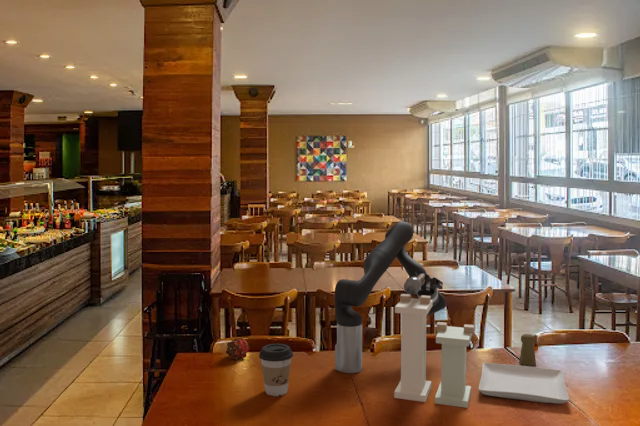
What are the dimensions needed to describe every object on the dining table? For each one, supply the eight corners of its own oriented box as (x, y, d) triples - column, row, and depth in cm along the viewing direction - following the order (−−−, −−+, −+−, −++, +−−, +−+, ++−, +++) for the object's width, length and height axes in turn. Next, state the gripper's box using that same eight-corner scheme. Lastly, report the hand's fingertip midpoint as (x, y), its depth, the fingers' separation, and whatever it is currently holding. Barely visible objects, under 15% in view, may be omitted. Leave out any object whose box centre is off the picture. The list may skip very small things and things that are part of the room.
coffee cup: (267, 401, 180) (266, 355, 179) (254, 389, 190) (253, 345, 189) (299, 394, 185) (299, 350, 184) (285, 382, 195) (284, 340, 194)
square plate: (562, 379, 199) (562, 368, 198) (569, 411, 173) (569, 399, 173) (482, 370, 207) (482, 360, 207) (477, 399, 182) (478, 388, 181)
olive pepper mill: (537, 366, 210) (538, 337, 209) (520, 365, 212) (521, 336, 211) (534, 361, 216) (535, 332, 215) (517, 360, 217) (518, 332, 216)
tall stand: (394, 397, 182) (395, 300, 180) (402, 383, 195) (403, 291, 192) (425, 402, 179) (426, 302, 176) (431, 386, 191) (432, 294, 189)
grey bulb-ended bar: (419, 295, 179) (419, 279, 178) (403, 294, 180) (403, 278, 180) (429, 282, 198) (429, 268, 197) (415, 281, 200) (415, 267, 199)
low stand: (432, 403, 178) (433, 330, 176) (437, 387, 191) (439, 319, 189) (470, 408, 174) (471, 333, 172) (473, 392, 187) (474, 322, 185)
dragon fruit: (231, 367, 215) (239, 361, 227) (249, 354, 214) (256, 349, 226) (219, 348, 216) (227, 343, 227) (237, 336, 215) (244, 331, 227)
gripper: (409, 280, 213) (401, 264, 198) (446, 282, 209) (442, 266, 194) (407, 299, 210) (399, 284, 195) (445, 302, 206) (440, 287, 191)
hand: (420, 275), depth 195 cm, fingers closed on grey bulb-ended bar, 3 cm apart
